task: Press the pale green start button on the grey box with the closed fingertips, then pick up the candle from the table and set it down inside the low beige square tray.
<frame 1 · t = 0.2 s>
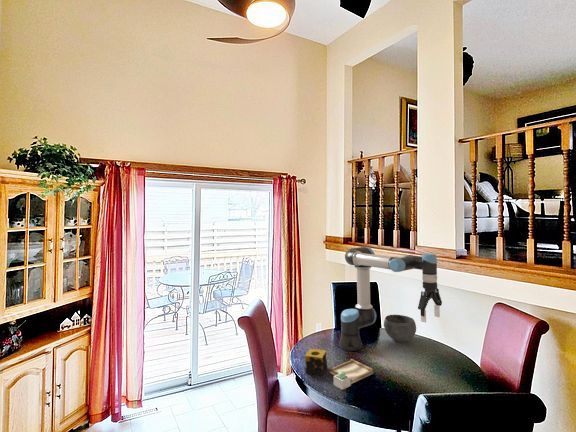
hand: (430, 319, 179), 28 cm above the table, fingers open, 13 cm apart
bowl: (400, 340, 220), on the table
candle: (316, 370, 180), on the table
button housing: (342, 385, 164), on the table
start button: (341, 376, 164), point 4 cm above the table, slide at 0.0 cm
beige square tray: (351, 373, 176), on the table
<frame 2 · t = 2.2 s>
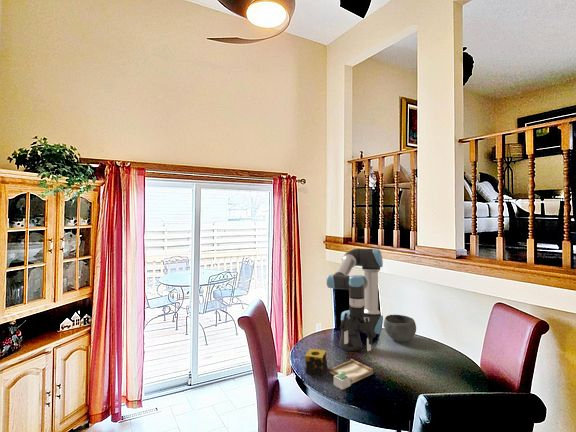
hand: (357, 346, 166), 19 cm above the table, fingers open, 13 cm apart
nothing on the table moved.
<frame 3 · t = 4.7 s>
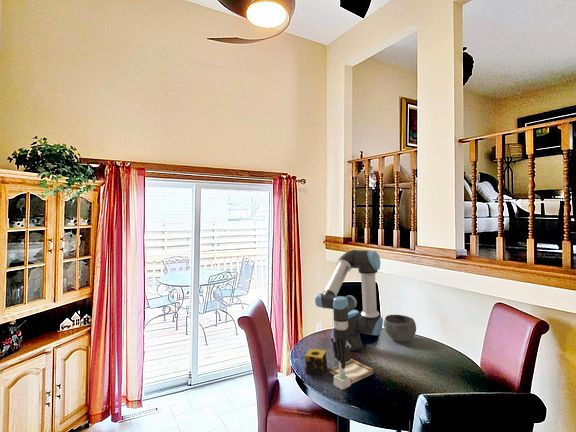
hand: (341, 373, 164), 6 cm above the table, fingers closed
start button: (341, 378, 164), point 4 cm above the table, slide at 0.8 cm, touching gripper
everything else where it was.
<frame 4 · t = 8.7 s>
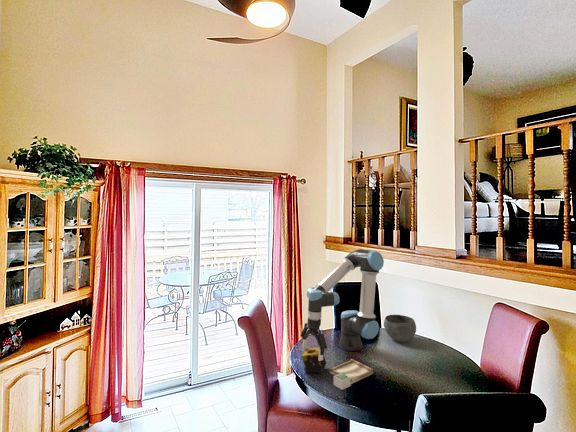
hand: (312, 355, 180), 8 cm above the table, fingers open, 13 cm apart
candle: (316, 369, 180), point 1 cm above the table, touching gripper
start button: (341, 378, 164), point 4 cm above the table, slide at 0.8 cm
everything else where it was.
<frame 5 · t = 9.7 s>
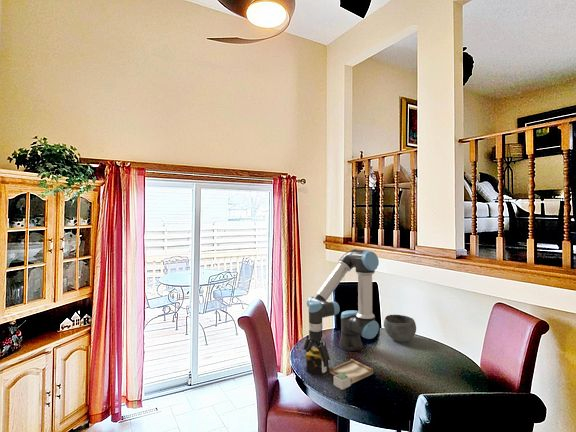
hand: (316, 367, 180), 2 cm above the table, fingers closed on candle, 13 cm apart
candle: (317, 370, 181), on the table, touching gripper
everything else where it was.
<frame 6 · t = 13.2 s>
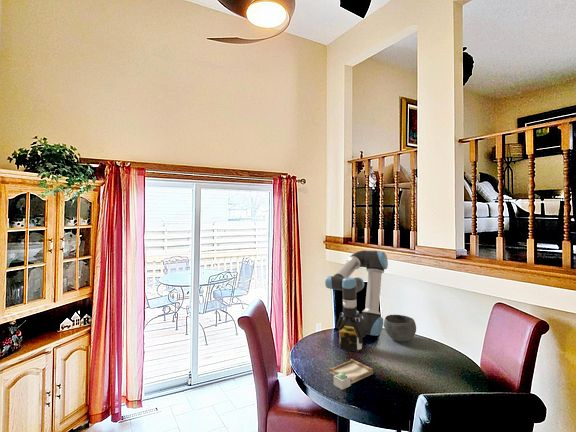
hand: (350, 345, 176), 15 cm above the table, fingers closed on candle, 12 cm apart
candle: (351, 347, 177), point 14 cm above the table, touching gripper
everything else where it was.
when the fingers open (3 cm above the table, at t = 16.9 s): candle stays where it is, resting on beige square tray.
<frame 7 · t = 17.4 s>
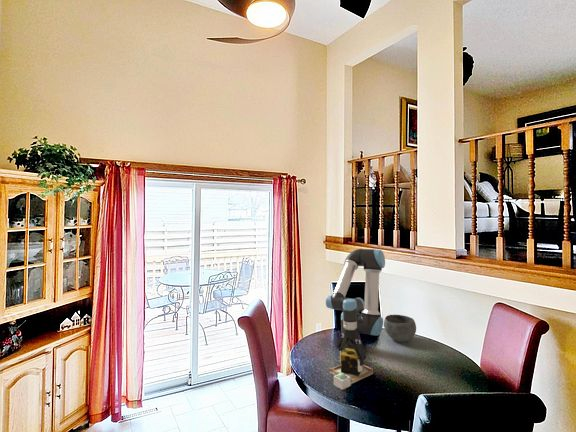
hand: (350, 366, 176), 4 cm above the table, fingers open, 13 cm apart
candle: (352, 370, 177), point 1 cm above the table, touching beige square tray
everything else where it was.
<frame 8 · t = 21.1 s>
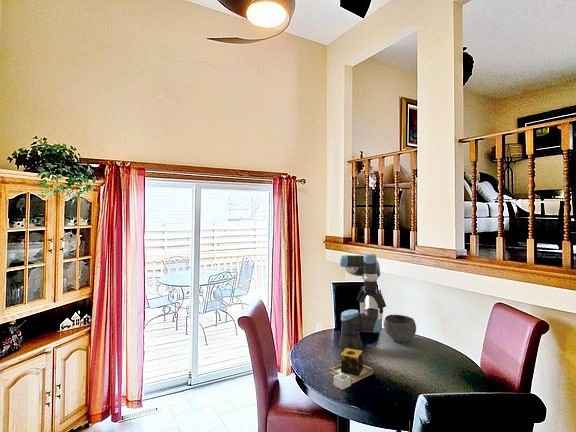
hand: (371, 315, 191), 27 cm above the table, fingers open, 13 cm apart
nothing on the table moved.
at the end: candle inside the target area on the beige square tray (1.2 cm from its centre), point 0.8 cm above the beige square tray's base; candle tilted 0°; start button slide at 0.8 cm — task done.
